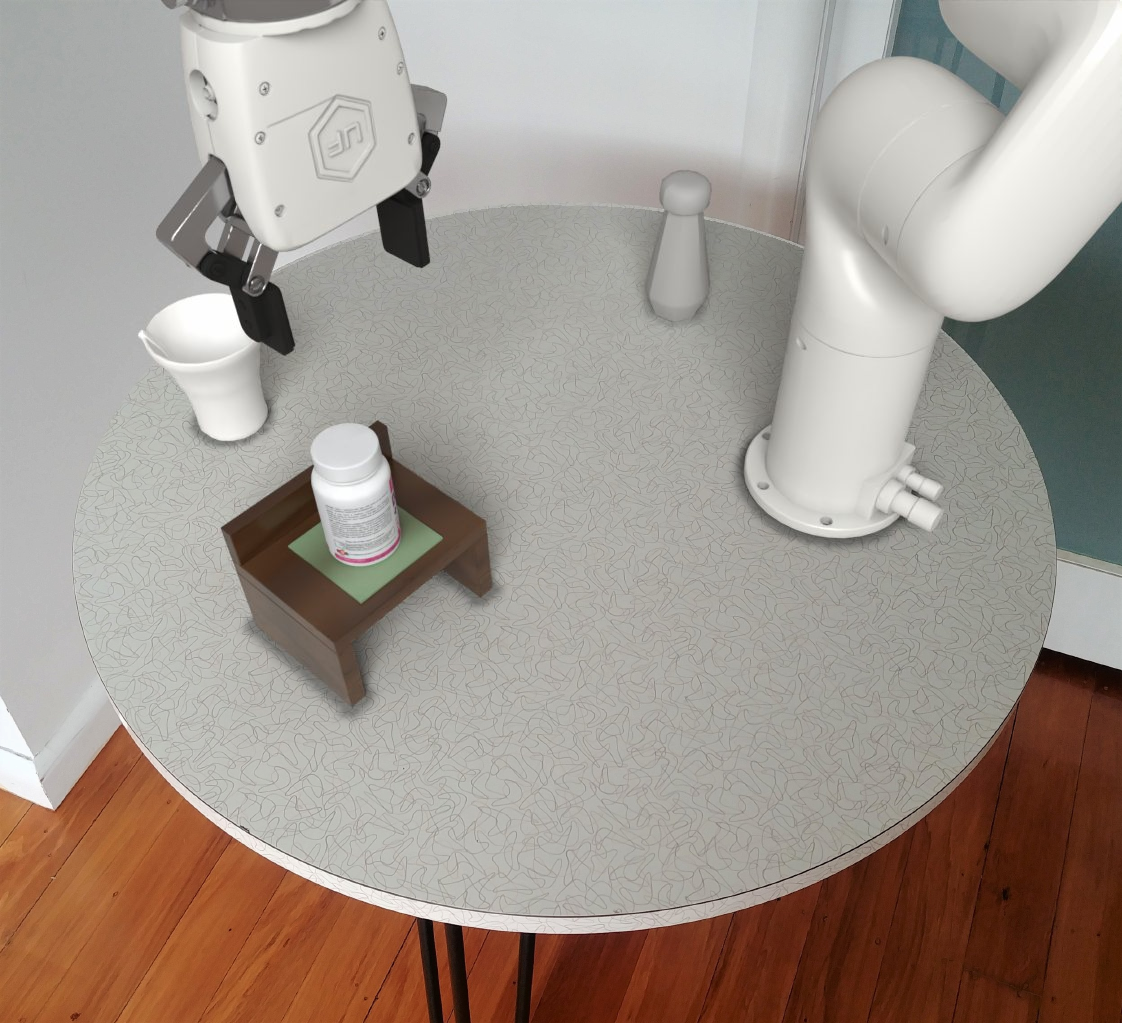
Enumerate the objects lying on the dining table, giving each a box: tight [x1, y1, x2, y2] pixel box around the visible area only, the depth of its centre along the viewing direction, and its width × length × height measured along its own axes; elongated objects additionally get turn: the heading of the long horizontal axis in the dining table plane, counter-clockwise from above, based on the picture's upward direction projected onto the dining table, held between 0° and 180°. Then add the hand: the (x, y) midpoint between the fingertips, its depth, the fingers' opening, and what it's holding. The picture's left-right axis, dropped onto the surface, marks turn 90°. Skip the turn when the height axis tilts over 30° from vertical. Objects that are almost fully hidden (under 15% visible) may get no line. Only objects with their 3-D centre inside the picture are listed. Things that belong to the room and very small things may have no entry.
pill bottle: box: [310, 422, 401, 566], centre depth 65 cm, size 5×5×8 cm
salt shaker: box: [644, 169, 713, 323], centre depth 92 cm, size 6×6×13 cm
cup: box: [137, 292, 269, 442], centre depth 83 cm, size 9×9×10 cm
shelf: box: [220, 420, 493, 707], centre depth 70 cm, size 10×13×10 cm
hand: (342, 298), depth 57 cm, fingers open, 9 cm apart
